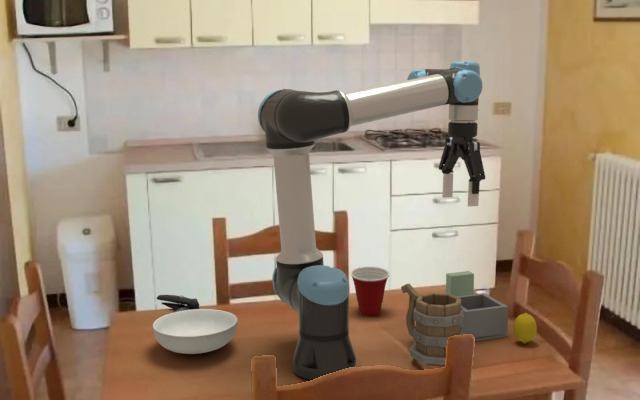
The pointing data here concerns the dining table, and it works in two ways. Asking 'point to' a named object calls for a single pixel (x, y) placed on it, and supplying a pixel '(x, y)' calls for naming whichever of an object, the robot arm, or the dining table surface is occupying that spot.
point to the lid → (460, 283)
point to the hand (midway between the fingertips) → (459, 201)
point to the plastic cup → (369, 288)
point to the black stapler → (179, 302)
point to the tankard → (432, 324)
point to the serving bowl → (195, 330)
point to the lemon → (525, 328)
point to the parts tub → (484, 317)
